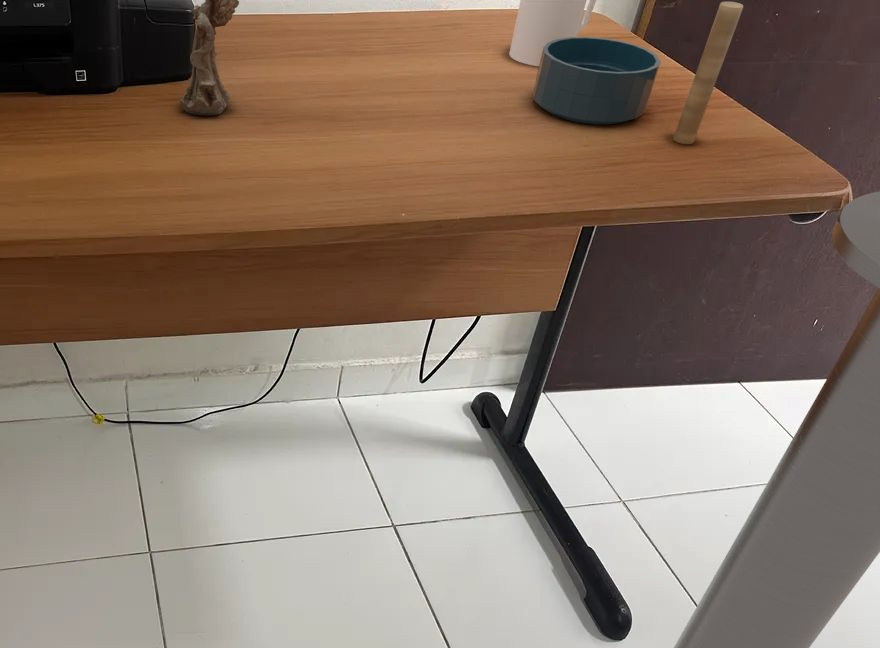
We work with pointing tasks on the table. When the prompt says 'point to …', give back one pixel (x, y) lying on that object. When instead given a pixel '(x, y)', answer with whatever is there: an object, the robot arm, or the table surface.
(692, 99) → the stick
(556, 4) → the cup
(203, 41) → the figurine
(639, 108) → the bowl
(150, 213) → the table surface
